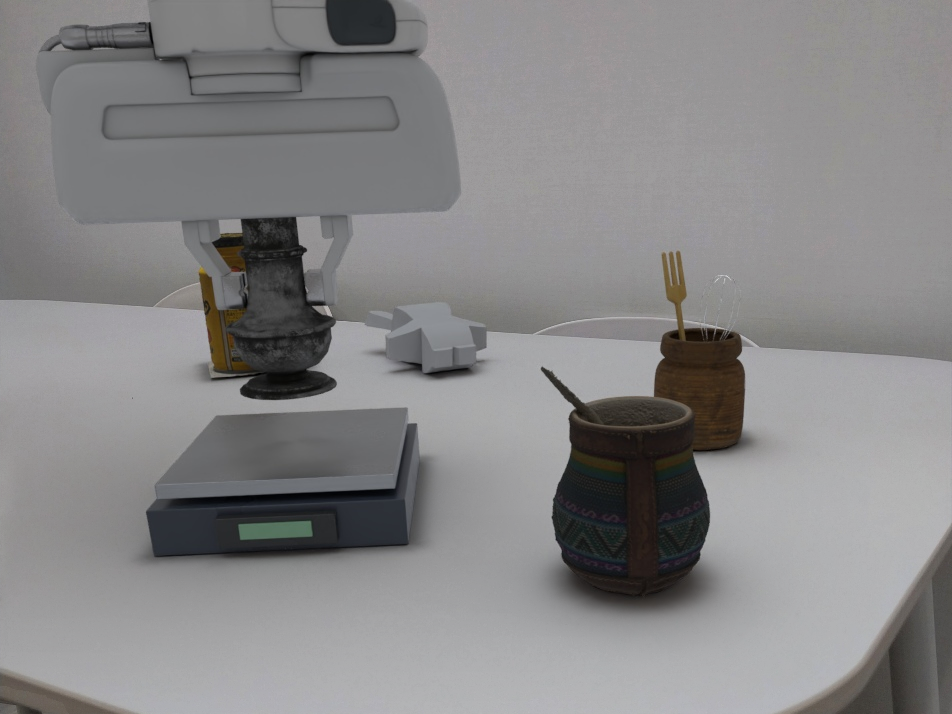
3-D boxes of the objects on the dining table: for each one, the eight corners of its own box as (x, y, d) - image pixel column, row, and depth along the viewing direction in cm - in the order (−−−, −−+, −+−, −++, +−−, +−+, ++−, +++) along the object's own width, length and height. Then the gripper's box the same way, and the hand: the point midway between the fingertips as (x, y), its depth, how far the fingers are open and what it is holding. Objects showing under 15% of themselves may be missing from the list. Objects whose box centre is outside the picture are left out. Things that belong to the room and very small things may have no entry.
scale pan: (156, 499, 49) (154, 485, 49) (217, 427, 61) (215, 415, 61) (395, 489, 49) (394, 474, 49) (408, 419, 61) (407, 407, 61)
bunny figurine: (402, 336, 81) (352, 292, 93) (404, 394, 83) (355, 343, 95) (505, 324, 84) (445, 283, 96) (505, 380, 87) (445, 333, 99)
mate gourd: (727, 605, 42) (740, 381, 39) (556, 616, 42) (552, 390, 38) (687, 541, 49) (694, 345, 45) (538, 550, 49) (533, 352, 45)
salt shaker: (211, 393, 53) (176, 161, 49) (291, 371, 58) (265, 156, 53) (286, 406, 50) (256, 159, 46) (364, 382, 54) (343, 154, 50)
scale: (148, 562, 49) (140, 516, 48) (218, 468, 62) (212, 431, 61) (407, 550, 49) (404, 504, 48) (419, 459, 63) (417, 422, 62)
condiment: (207, 364, 92) (187, 233, 88) (297, 355, 95) (282, 227, 90) (211, 380, 86) (190, 240, 81) (307, 370, 88) (292, 234, 84)
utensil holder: (694, 458, 61) (702, 264, 57) (632, 435, 66) (634, 255, 62) (761, 441, 64) (774, 255, 60) (696, 420, 69) (703, 247, 65)
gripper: (-1, 18, 44) (60, 324, 49) (451, 5, 44) (466, 308, 49) (54, 32, 50) (104, 304, 55) (453, 20, 50) (466, 290, 55)
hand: (279, 306), depth 52 cm, fingers closed on salt shaker, 3 cm apart
